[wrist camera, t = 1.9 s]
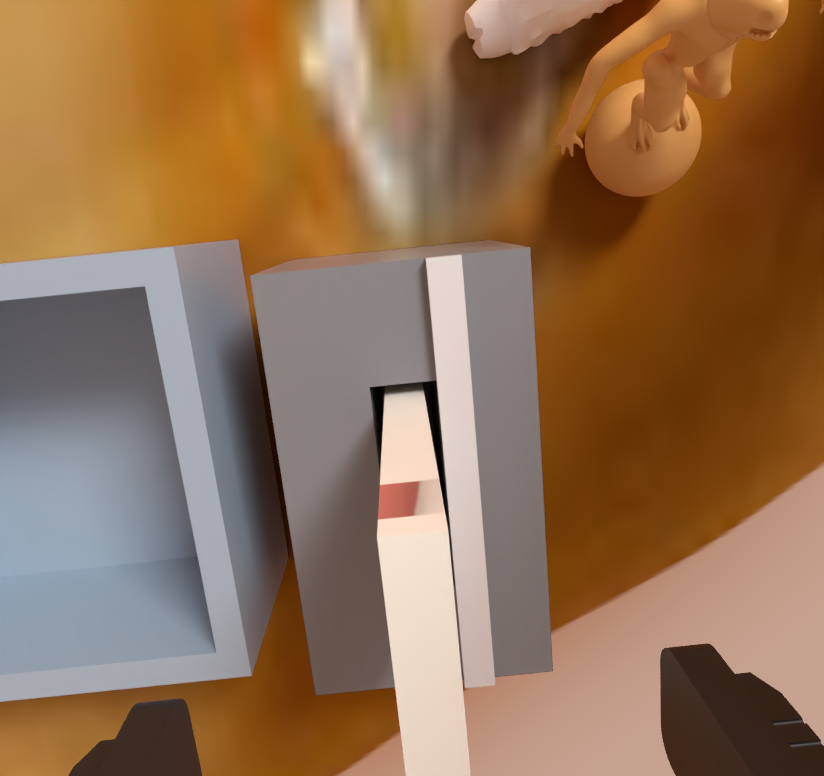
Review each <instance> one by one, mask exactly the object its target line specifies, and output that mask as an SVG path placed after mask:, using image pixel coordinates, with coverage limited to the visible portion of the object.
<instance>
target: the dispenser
mask: <svg viewBox="0 0 824 776" xmlns="http://www.w3.org/2000/svg"><path fill="white" fill-rule="evenodd" d="M250 278H251V285H252V291H253V298H254V304H255V310H256V317H257V323H258V330H259V336H260V342H261V349H262V355H263V362H264V368H265V374H266V381H267V387H268V394H269V400H270V406H271V413H272V419H273V426H274V432H275V438H276V445H277V451H278V458H279V464H280V470H281V477H282V483H283V490H284V496H285V502H286V509H287V515H288V522H289V528H290V534H291V541H292V547H293V554H294V560H295V566H296V573H297V579H298V586H299V592H300V598H301V605H302V611H303V618H304V624H305V630H306V637H307V643H308V650H309V656H310V662H311V669H312V675H313V682H314V688H315V694H316V695H326V694H336V693H345V692H355V691H365V690H375V689H384V688H394V687H395V682H394V674H393V666H392V658H391V649H390V641H389V633H388V625H387V616H386V608H385V600H384V592H383V583H382V575H381V567H380V559H379V551H378V542H377V527H378V509H379V490H380V471H381V453H382V434H383V415H384V396H385V386H387V385H396V384H406V383H416V382H422V384H423V390H424V396H425V401H426V407H427V413H428V418H429V424H430V430H431V435H432V441H433V447H434V452H435V458H436V464H437V470H438V475H439V481H440V487H441V492H442V498H443V504H444V509H445V515H446V521H447V526H448V533H449V544H450V555H451V566H452V577H453V587H454V598H455V609H456V620H457V631H458V642H459V652H460V663H461V674H462V680H464V684H465V688H474V687H484V686H494V685H495V677H500V676H511V675H520V674H531V673H539V672H550V671H553V665H552V646H551V627H550V608H549V589H548V570H547V552H546V533H545V514H544V495H543V477H542V458H541V439H540V420H539V402H538V383H537V364H536V346H535V327H534V308H533V289H532V271H531V252H530V247H527V246H521V245H516V244H511V243H505V242H500V241H495V240H483V241H473V242H463V243H453V244H443V245H433V246H423V247H414V248H404V249H394V250H384V251H374V252H364V253H354V254H345V255H335V256H325V257H315V258H305V259H295V260H290V261H287V262H285V263H282V264H280V265H277V266H274V267H272V268H269V269H266V270H264V271H261V272H258V273H256V274H253V275H250Z"/></svg>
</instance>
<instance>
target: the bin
mask: <svg viewBox="0 0 824 776" xmlns="http://www.w3.org/2000/svg"><path fill="white" fill-rule="evenodd" d="M288 558H289V557H288V550H287V544H286V538H285V531H284V525H283V519H282V513H281V506H280V500H279V494H278V487H277V481H276V475H275V468H274V462H273V456H272V449H271V443H270V437H269V431H268V424H267V418H266V412H265V405H264V399H263V393H262V386H261V380H260V374H259V367H258V361H257V355H256V348H255V342H254V336H253V330H252V323H251V317H250V311H249V304H248V298H247V292H246V285H245V279H244V273H243V266H242V260H241V254H240V248H239V241H238V239H237V240H228V241H218V242H208V243H198V244H188V245H178V246H168V247H158V248H149V249H139V250H129V251H119V252H109V253H99V254H89V255H79V256H70V257H60V258H50V259H40V260H30V261H20V262H10V263H0V702H3V701H13V700H22V699H32V698H42V697H52V696H61V695H71V694H81V693H91V692H100V691H110V690H120V689H130V688H140V687H149V686H159V685H169V684H179V683H188V682H198V681H208V680H218V679H227V678H237V677H247V676H252V673H253V670H254V667H255V664H256V660H257V657H258V654H259V651H260V648H261V645H262V641H263V638H264V635H265V632H266V629H267V625H268V622H269V619H270V616H271V613H272V609H273V606H274V603H275V600H276V597H277V593H278V590H279V587H280V584H281V581H282V577H283V574H284V571H285V568H286V565H287V561H288Z"/></svg>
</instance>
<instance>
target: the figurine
mask: <svg viewBox="0 0 824 776" xmlns="http://www.w3.org/2000/svg"><path fill="white" fill-rule="evenodd" d="M788 3H789V0H660V1H659V2H658V3H657V4H656V6H655V7H654V8H653V9H652V10H651V11H650V12H649V13H648V14H646V15H645V16H644V17H643V18H641V19H640V20H638V21H637V22H635V23H634V24H633V25H631V26H630V27H629V28H627V29H626V30H625V31H623V32H622V33H621V34H619V35H618V36H617V37H616V38H614V39H613V40H612V41H610V42H609V43H608V44H607V45H605V46H604V47H603V48H602V49H601V50H600V51H599V52H598V53H597V54H596V55H595V56H594V57H593V58H592V60H591V61H590V63H589V65H588V67H587V69H586V71H585V74H584V78H583V81H582V84H581V86H580V88H579V90H578V92H577V94H576V97H575V99H574V102H573V104H572V107H571V109H570V113H569V116H568V119H567V122H566V123H565V125H564V126H563V128H562V129H561V131H560V132H559V134H558V136H557V139H556V143H555V148H556V149H557V148H558V145H559V144H560V145H561V154H562V155H564V153H565V148H566V147H567V148H568V149H569V153H570V155H571V157H573V144H574V143H576V144H578V145H579V146H580V147H581V148H583V143H582V141H581V140H580V138H579V137H578V136H577V135H576V130H577V129H578V127H579V126H580V124H581V123H582V121H583V120H584V118H585V117H586V115H587V114H588V112H589V110H590V108H591V106H592V104H593V101H594V98H595V95H596V93H597V91H598V89H599V88H600V86H601V85H602V83H603V81H604V79H605V78H606V76H607V74H608V72H609V71H610V69H611V68H613V67H614V66H616V65H618V64H619V63H621V62H623V61H625V60H627V59H629V58H630V57H632V56H634V55H635V54H637V53H639V52H640V51H642V50H643V49H645V48H647V47H648V46H650V45H651V44H652V43H654V42H655V41H657V40H658V39H660V38H662V37H664V36H666V35H668V34H671V40H670V42H669V44H668V46H667V47H666V48H665V49H663V50H658V51H656V52H654V53H652V54H651V55H649V56H648V57H647V58H646V60H645V61H644V64H643V68H642V72H643V77H644V79H641V80H636V81H632V82H629V83H627V84H624V85H622V86H620V87H618V88H617V89H615V90H614V91H612V92H611V93H610V94H609V95H607V96H606V97H605V98H604V99H603V100H602V101H601V103H600V104H599V105H598V106H597V108H596V109H595V111H594V113H593V114H592V116H591V118H590V121H589V123H588V126H587V130H586V134H585V155H586V159H587V162H588V165H589V167H590V169H591V171H592V173H593V175H594V176H595V177H596V179H597V180H598V181H599V182H600V183H601V184H602V185H603V186H605V187H606V188H608V189H609V190H611V191H613V192H615V193H618V194H621V195H624V196H631V197H642V196H649V195H653V194H656V193H659V192H661V191H663V190H665V189H667V188H669V187H670V186H672V185H673V184H675V183H676V182H677V181H678V180H679V179H681V178H682V177H683V175H684V174H685V173H686V172H687V171H688V169H689V168H690V167H691V165H692V163H693V162H694V160H695V158H696V156H697V153H698V150H699V147H700V142H701V135H702V127H701V120H700V116H699V112H698V110H697V108H696V106H695V104H694V102H693V101H692V99H691V98H690V97H689V96H688V94H687V89H688V90H691V91H693V92H696V93H698V94H700V95H702V96H704V97H706V98H708V99H712V100H720V99H723V98H725V97H726V96H727V95H728V94H729V92H730V90H731V82H730V75H731V67H732V59H733V51H734V49H735V46H736V44H737V42H739V41H740V40H742V39H744V38H745V37H747V38H749V39H751V40H755V41H765V40H769V39H771V38H772V37H773V35H774V34H775V33H776V30H777V29H779V28H780V27H781V26H782V25H783V24H784V22H785V20H786V18H787V15H788ZM823 10H824V0H822V2H821V9H820V12H819V13H820V14H821V13H822V12H823Z"/></svg>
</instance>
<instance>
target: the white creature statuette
mask: <svg viewBox="0 0 824 776" xmlns="http://www.w3.org/2000/svg"><path fill="white" fill-rule="evenodd" d="M620 2H622V0H476V1H475V3H474V4H473V5H472V6H471V7H470V8H469V9H468V10H467V11H466V12H465V17H464V20H465V26H466V31H467V35H468V38H470V39H473V40H475V42H474V45H473V46H472V48H473V50H474V51H475V53H476V54H477V56H478V57H479V58H495V57H500V56H502V55H505V54H507V53H510V52H511V53H513V54H514V55H518V54H519V53H521V52H523V51H525V50H526V49H528V48H529V47H530V46H533V47H537V46H539V45H541V44H542V43H543V42H544V41H545V40H546V39H547V38H548V37H549V36H550V35H551V34H560V33H561V32H562V31H563V30H565V29H567V28H570V27H573V26H574V25H575V24H576V23H578V22H579V21H580V20H581V19H583V18H591V16H592V15H593V13H602V12H603V11H604V10H605V9H606V8H607V7H610V6H612V5H613V4H618V3H620Z"/></svg>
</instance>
